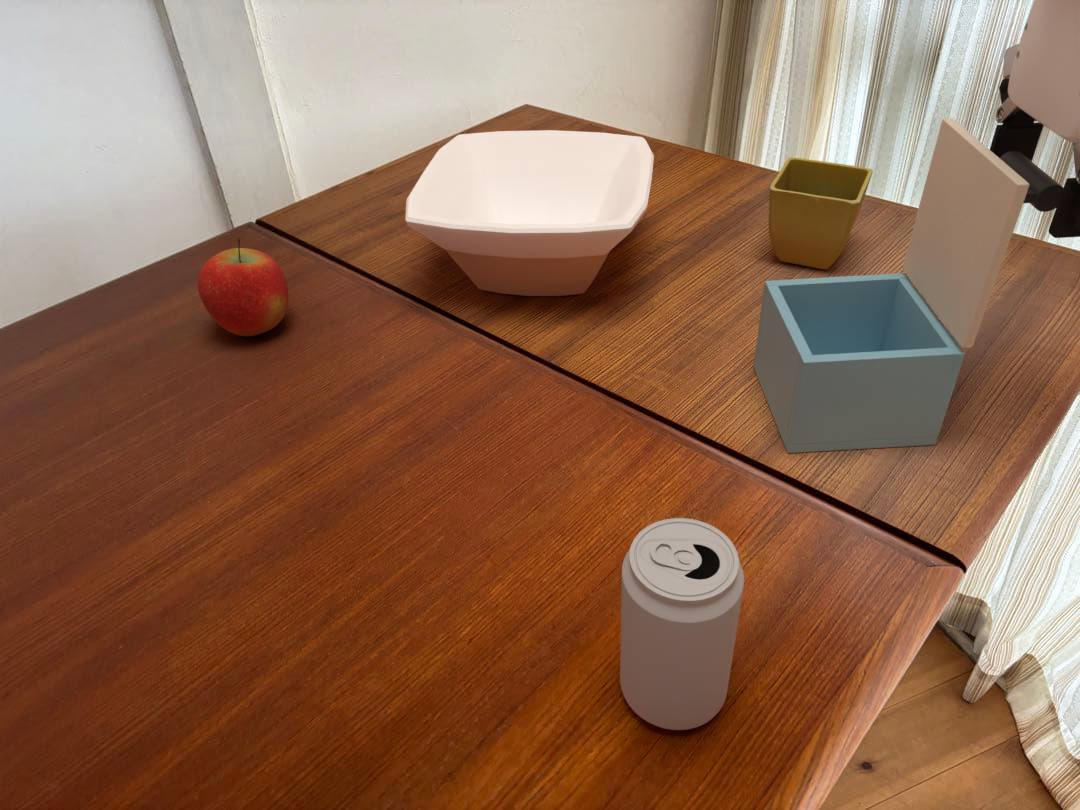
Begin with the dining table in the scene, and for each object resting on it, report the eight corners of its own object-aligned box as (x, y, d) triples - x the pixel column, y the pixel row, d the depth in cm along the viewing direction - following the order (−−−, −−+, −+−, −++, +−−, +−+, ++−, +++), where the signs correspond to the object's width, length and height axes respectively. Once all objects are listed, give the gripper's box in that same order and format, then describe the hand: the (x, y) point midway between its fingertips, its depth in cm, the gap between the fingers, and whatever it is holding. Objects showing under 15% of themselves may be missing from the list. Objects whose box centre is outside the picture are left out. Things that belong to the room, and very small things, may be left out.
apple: (212, 318, 87) (182, 230, 81) (292, 301, 89) (268, 214, 83) (217, 360, 81) (185, 268, 75) (302, 341, 83) (277, 250, 77)
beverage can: (716, 750, 48) (737, 618, 41) (607, 719, 50) (608, 588, 42) (733, 658, 53) (755, 525, 45) (633, 633, 54) (638, 501, 47)
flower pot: (858, 245, 93) (874, 167, 87) (842, 283, 87) (859, 201, 81) (777, 232, 96) (788, 155, 91) (757, 267, 90) (768, 188, 84)
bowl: (402, 322, 85) (386, 225, 78) (459, 213, 104) (449, 127, 97) (640, 334, 81) (644, 234, 75) (654, 218, 100) (657, 130, 94)
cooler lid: (1018, 184, 53) (1102, 180, 54) (942, 118, 63) (1014, 115, 63) (961, 348, 61) (1035, 345, 61) (901, 268, 71) (966, 265, 71)
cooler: (787, 453, 67) (804, 362, 62) (752, 366, 76) (764, 280, 71) (935, 445, 67) (965, 353, 62) (883, 359, 76) (905, 272, 71)
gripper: (1299, -41, 43) (1162, 258, 54) (1108, -92, 57) (1029, 155, 67) (1153, -33, 43) (1044, 265, 54) (997, -85, 57) (935, 160, 67)
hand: (1036, 204), depth 61 cm, fingers open, 9 cm apart
